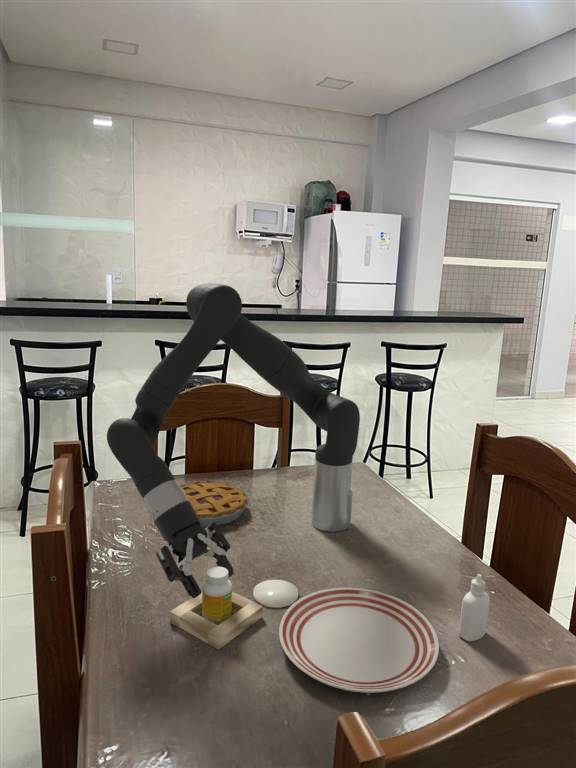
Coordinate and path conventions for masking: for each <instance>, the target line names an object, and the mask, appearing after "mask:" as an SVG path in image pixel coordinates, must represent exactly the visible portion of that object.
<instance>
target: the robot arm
mask: <svg viewBox="0 0 576 768" xmlns="http://www.w3.org/2000/svg"><path fill="white" fill-rule="evenodd" d="M242 301H243V300H242V298H241V296H240V294H239V292H238V291H237V290H236V289H235V288H233V287H232V286H230V285H226V284H222V283H221V284H220V283H212V282H211V283H210V282H209V283H208V282H207V283H202V284H198V285H196V286H194V287H192V288H191V289H190V291H188V293H187V296H186V300H185V304H186V310H187V313H188V316H189V317H190V318H191V319H192V321H193V322H192V325H191V327H190V328H189V330H188V331H187V333H186V334H185V335H184V337H183V338H182V339H181V340H180V342H179V343H178V344H177V345H176V346H175V347H174V348H173V349H172V350H170V352H169V353H168V354H166V355H165V356H164V358H162V359H161V360H160V362H158V363H157V365H156V366H155V367H154V368H153V370H152V371H151V373H150V374H149V375H148V377H147V379H145V381H144V383H143V384H142V387H141V388H140V389H139V390H138V393H137V395H136V397H135V400H134V401H135V405H136V408H135V410H134V412H133V414H132V416H131V418H129V417H122V418H119V419H116V420H114V421H113V422H112V423H111V424H110V426H109V427H108V429H107V433H106V440H107V445H108V448H109V450H110V451H111V453H112V454H113V456H114V457H115V459H116V460H117V462H119V464H120V465H121V467H122V468H123V470H125V472H126V473H127V474H128V475H129V477H130V478H131V480H132V481H133V483H134V486H135V487H136V489H137V492H138V493H139V494H140V497H141V498H142V500H143V502H144V504H145V507H146V510H147V512H148V514H149V515H150V517H151V519H152V521H153V522H154V525H155V526H156V528H157V530H158V531H159V534H160V535H161V537H162V539H163V541H165V542H167V544H168V546H167V545H163V546H162V547H161V548H160V549H159V550H157V552H156V557H157V559H158V562H159V563H160V565H161V567H162V569H163V572H164V573H165V575H166V578H167V581H168V582H169V583H172V582H175V581H180V582H181V583H182V586H183V587H184V589H185V591H186V593H187V595H188V596H189V597H191V598H196V597H197V596H199V595H200V594H201V593H202V590H201V588H200V586H199V584H198V583H197V581H196V579H195V578H194V576H193V574H191V564H192V561H193V560H195V559H196V558H199V557H201V556H204V557H210V558H211V559H212V560H215V564H216V565H217V567H224V568H226V569H227V570H228V579H229V578H230V577H232V576H233V575H234V567H233V566H232V564H231V562H230V561H229V559H228V557H227V555H226V554H227V553H228V551H229V550H230V549H231V544H230V543H229V541H228V540H227V538H226V536H225V535H224V534H223V531H221V528H220V527H219V525H218V526H217V524H216V523H214V522H213V523H212V524H210V525H209V526H208V527H202V526H201V525H200V518H199V517H198V515H197V513H196V511H195V510H194V508H193V506H192V505H191V503H190V501H189V499H188V498H187V496H186V494H185V493H184V491H183V489H182V488H181V487H180V484H179V483H178V482H177V480H176V478H175V476H174V475H173V473H172V471H171V469H170V468H169V467H168V464H167V463H166V462H165V461H164V459H162V458H161V457H160V456H159V455H158V454H157V453H156V452H155V450H154V448H153V446H154V444H155V442H156V441H157V438H158V436H159V435H160V434H159V433H160V431H161V430H162V426H163V424H164V422H165V419H166V416H167V414H168V413H169V412H170V410H171V408H172V407H173V405H174V404H175V402H176V401H177V399H178V398H179V396H180V394H181V392H183V390H184V388H185V386H186V385H187V383H188V382H189V380H191V378H192V376H193V375H194V373H195V372H196V371H197V369H198V368H199V367H200V366H201V364H202V363H203V362H204V360H206V358H208V357H207V356H209V354H210V353H211V352H212V351H213V349H215V347H216V345H217V344H218V343H219V342H220V341H222V342H223V343H224V344H225V345H227V346H228V347H229V348H230V349H231V350H233V352H234V353H235V354H236V356H238V357H239V358H240V359H241V360H242V361H243V362H245V363H246V365H248V366H249V367H250V368H251V369H252V370H253V371H254V372H255V373H256V374H257V375H258V376H259V377H261V378H262V379H263V380H264V381H265V382H266V383H268V384H269V385H270V386H271V387H273V388H274V389H275V390H276V391H278V392H279V393H280V394H282V395H283V396H285V397H286V398H288V399H289V400H291V401H293V402H294V404H296V405H297V406H298V407H299V408H300V409H301V410H302V411H303V412H304V413H305V415H306V416H307V417H308V418H309V419H310V420H311V421H312V422H313V424H314V425H315V426H317V427H318V428H319V429H321V430H323V431H325V432H326V439H325V443H322V444H319V445H318V446H317V447H316V448H315V455H314V475H313V493H312V509H311V510H312V511H311V525H312V526H313V527H314V528H315V529H317V530H320V531H323V532H329V533H330V532H332V533H334V532H335V533H336V532H337V533H338V532H341V531H344V530H347V529H351V523H352V522H351V520H352V510H353V508H352V507H353V497H354V494H353V491H352V490H351V487H352V472H353V461H354V459H353V458H354V454H355V452H356V450H357V447H358V441H359V440H358V439H359V431H360V425H361V423H360V421H361V415H360V409H359V407H358V405H357V403H355V402H354V401H353V400H351V399H348V398H347V397H343V396H340V395H337V394H335V393H333V392H331V391H330V390H328V389H326V388H325V386H324V387H323V385H321V384H319V382H318V381H316V380H315V379H314V378H313V376H312V375H311V373H310V371H309V369H308V367H307V365H306V363H305V361H303V359H302V358H301V357H300V356H299V354H297V353H296V351H294V350H293V349H292V348H290V346H289V345H288V344H287V343H286V342H284V341H283V340H282V339H280V338H279V337H277V336H276V335H275V334H272V333H271V332H269V331H268V330H265V328H262V327H260V326H259V325H257V324H255V323H254V322H252V321H251V320H249V319H248V318H247V317H246V316H244V315H243V314H242V309H243V302H242ZM174 555H175V556H176V561H175V558H174V557H173V556H174Z"/></svg>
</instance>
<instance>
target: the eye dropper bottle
mask: <svg viewBox="0 0 576 768" xmlns="http://www.w3.org/2000/svg"><path fill="white" fill-rule="evenodd" d="M470 582H471V583H470V590H469V591H468V592H467V593H466V594H464V597H463V599H462V604H461V610H460V618H459V619H460V620H459V625H458V626H459V627H458V637H460V638H462V640H464V641H466V642H475V641H479V640H481V639H482V638H483V637H484V636H485V634H486V632H487V625H488V619H489V610H490V609H489V608H490V603H491V602H490V601H491V598H490V594H488V592H486V585H487V584H486V582H485V581H484V580H483V578H482V574H480V573H478V574H476V577H475V578H472V579H471V581H470Z"/></svg>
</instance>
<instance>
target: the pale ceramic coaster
mask: <svg viewBox="0 0 576 768" xmlns="http://www.w3.org/2000/svg"><path fill="white" fill-rule="evenodd" d="M252 594H253V599H254V600H255V601H256V603H257V604H259V603H260V604H259V605H261V606H263V607H267V608H271V609H272V608H273V609H280V608H286V607H289V606H290V607H291V606H292V605H293V604H294V603H295V602H297V601H298V600H299V590H298V587H297V586H296V585H294V584H293V583H292V582H289V581H286V580H282V579H267V580H264V581H261V582H260V583H257V584H256V586H254V587H253V591H252Z"/></svg>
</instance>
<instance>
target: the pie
mask: <svg viewBox="0 0 576 768" xmlns="http://www.w3.org/2000/svg"><path fill="white" fill-rule="evenodd" d="M179 485H180V484H179ZM180 487H181V488H182V489H183V491H184V493H185V494H186V496H187V498H188V499H189V501H190V503H191V505H192V506H193V508H194V510H195V511H196V513H197V515H198V517H199V518H200V525H201V526H202V527H203V528H206V527H208V526H209V525H210V524H212V523H213V522H214V523H216V524H217V525H218V526H222V525H221V524H223V525H226V523H227V524H228V523H229V524H230V523H231V522H233V521H236V520H237V519H238V518H239V517H240V516H242V515H243V512H244V511H245V508H246V507H247V506H248V505H249V501H248V497H247V495H246V493H245V491H243V490H240V489H239V487H237V486H234V485H233V486H231V485H228V483H225V482H219V483H218V482H217V483H215V482H214V481H211V480H207V481H206V482H200V481H193V483H192V484H181V485H180Z"/></svg>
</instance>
